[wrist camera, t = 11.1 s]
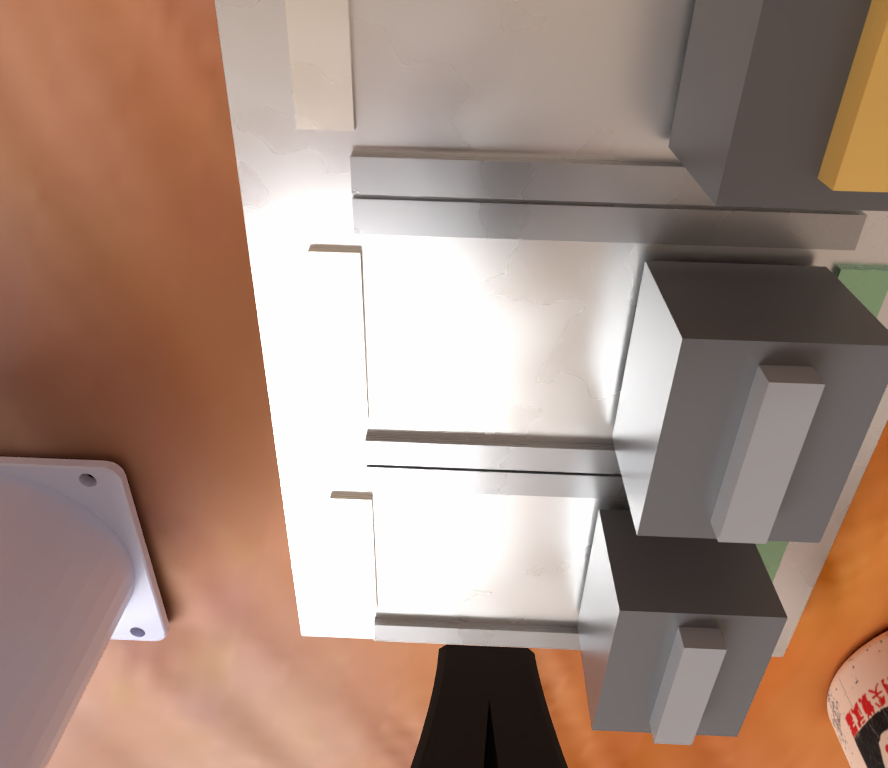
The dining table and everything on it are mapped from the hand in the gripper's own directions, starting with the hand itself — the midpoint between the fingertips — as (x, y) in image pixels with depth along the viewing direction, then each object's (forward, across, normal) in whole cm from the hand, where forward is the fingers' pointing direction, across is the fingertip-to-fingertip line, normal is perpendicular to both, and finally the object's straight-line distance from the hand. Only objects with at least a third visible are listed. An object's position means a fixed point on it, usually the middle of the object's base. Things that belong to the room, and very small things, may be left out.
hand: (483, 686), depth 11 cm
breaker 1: (+8, -6, -1) cm, 10 cm away
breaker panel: (+10, -2, -1) cm, 10 cm away
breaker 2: (+8, -6, +6) cm, 12 cm away
